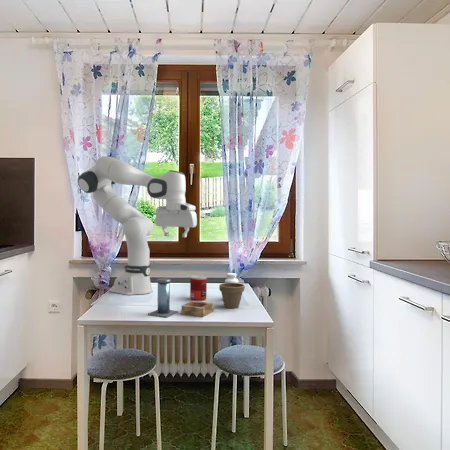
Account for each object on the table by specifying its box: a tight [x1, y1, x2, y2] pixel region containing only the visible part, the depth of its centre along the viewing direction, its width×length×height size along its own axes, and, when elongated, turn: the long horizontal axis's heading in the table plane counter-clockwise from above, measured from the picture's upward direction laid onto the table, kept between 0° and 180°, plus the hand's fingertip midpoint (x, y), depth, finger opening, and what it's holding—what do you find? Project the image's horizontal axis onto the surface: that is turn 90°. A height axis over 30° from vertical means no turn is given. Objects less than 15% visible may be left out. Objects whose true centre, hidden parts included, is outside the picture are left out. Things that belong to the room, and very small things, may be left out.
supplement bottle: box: [224, 272, 240, 284], centre depth 193 cm, size 7×7×13 cm
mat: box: [147, 309, 179, 319], centre depth 167 cm, size 9×9×1 cm
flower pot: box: [218, 282, 246, 309], centre depth 180 cm, size 12×11×10 cm
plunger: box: [156, 277, 172, 314], centre depth 166 cm, size 6×6×14 cm
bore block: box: [181, 300, 214, 318], centre depth 169 cm, size 10×10×4 cm
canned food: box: [189, 275, 208, 302], centre depth 194 cm, size 8×8×11 cm
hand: (175, 236), depth 181 cm, fingers open, 8 cm apart
